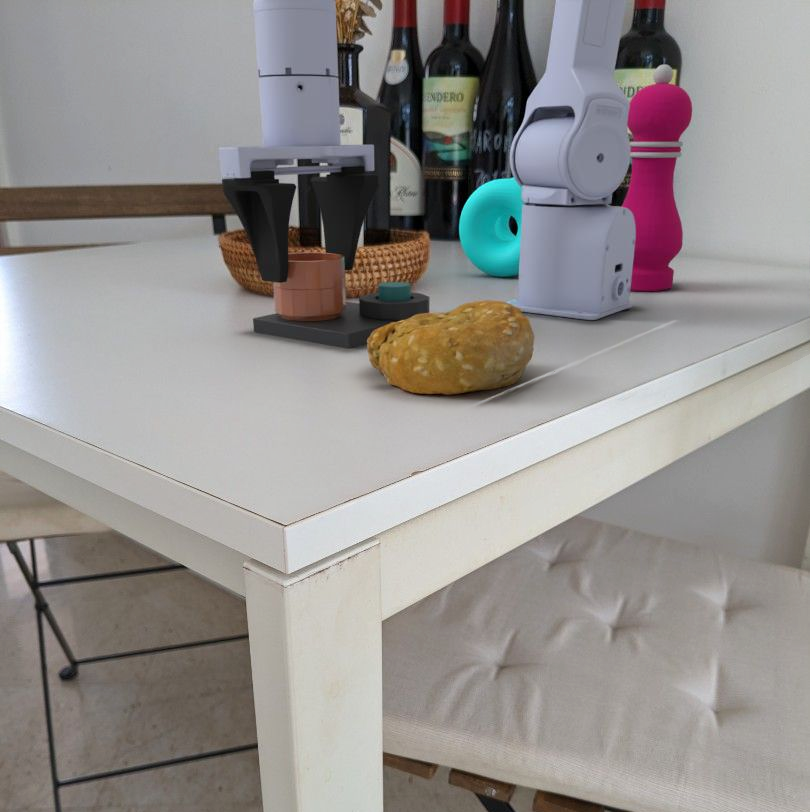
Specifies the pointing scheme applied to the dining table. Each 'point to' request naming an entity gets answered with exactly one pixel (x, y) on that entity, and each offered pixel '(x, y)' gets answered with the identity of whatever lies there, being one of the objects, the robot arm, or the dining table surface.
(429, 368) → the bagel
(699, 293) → the dining table surface
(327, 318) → the cup
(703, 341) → the dining table surface
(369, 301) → the scale
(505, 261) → the donuts
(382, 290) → the button
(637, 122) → the pepper mill
